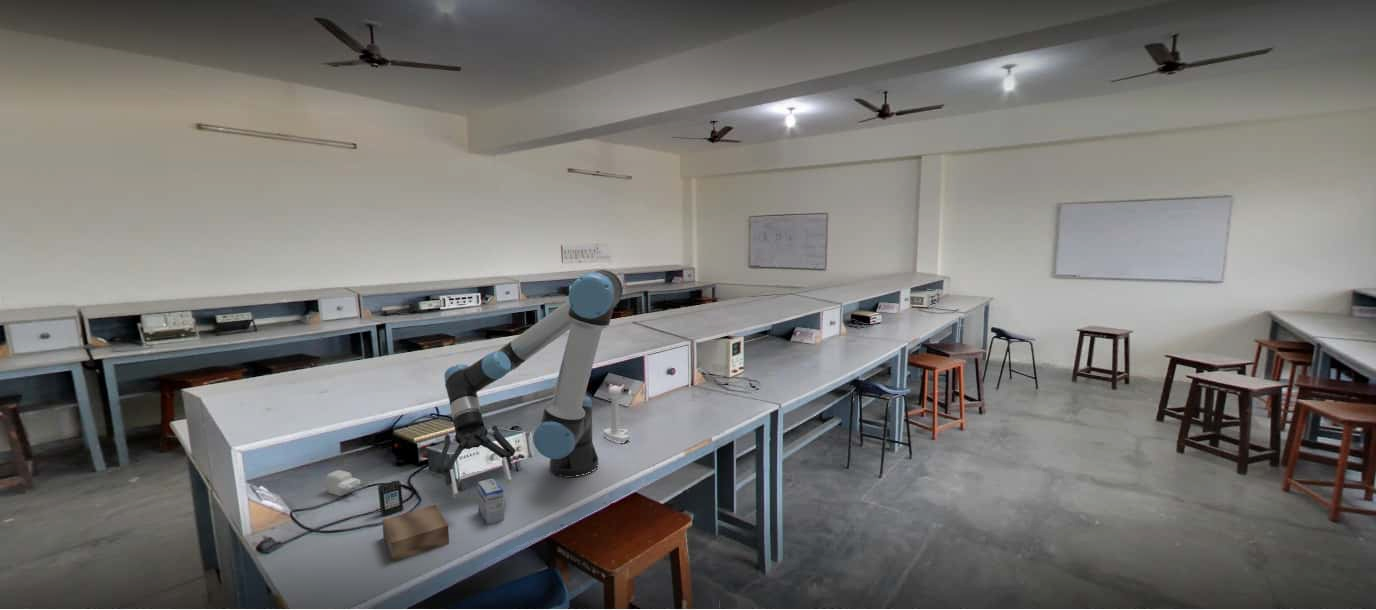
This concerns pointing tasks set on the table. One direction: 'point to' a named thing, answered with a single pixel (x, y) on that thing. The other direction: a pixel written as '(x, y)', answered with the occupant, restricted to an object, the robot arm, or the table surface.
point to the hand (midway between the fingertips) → (483, 488)
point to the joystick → (615, 418)
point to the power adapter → (341, 483)
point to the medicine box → (490, 501)
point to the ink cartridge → (390, 498)
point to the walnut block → (415, 532)
